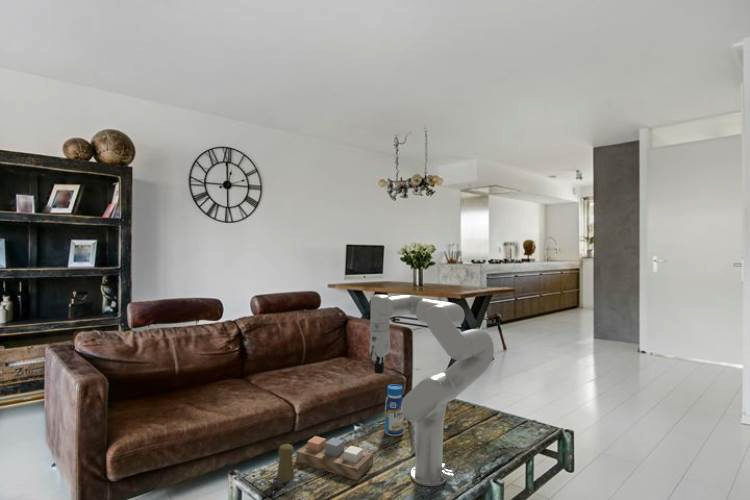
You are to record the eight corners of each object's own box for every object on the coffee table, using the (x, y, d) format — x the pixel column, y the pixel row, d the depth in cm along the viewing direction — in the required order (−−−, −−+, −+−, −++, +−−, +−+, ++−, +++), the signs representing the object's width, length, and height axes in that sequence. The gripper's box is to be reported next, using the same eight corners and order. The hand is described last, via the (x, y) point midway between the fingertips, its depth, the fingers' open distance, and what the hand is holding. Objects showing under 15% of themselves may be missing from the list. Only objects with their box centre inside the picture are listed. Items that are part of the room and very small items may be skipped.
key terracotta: (325, 451, 164) (326, 438, 164) (318, 457, 160) (318, 444, 160) (315, 448, 166) (315, 435, 166) (307, 453, 162) (307, 441, 162)
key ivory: (362, 461, 157) (362, 448, 157) (355, 468, 153) (356, 454, 152) (350, 458, 159) (350, 445, 159) (343, 464, 155) (344, 451, 155)
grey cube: (343, 453, 161) (344, 440, 160) (336, 459, 156) (337, 446, 156) (332, 450, 163) (332, 437, 163) (325, 455, 158) (325, 443, 158)
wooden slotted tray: (372, 464, 159) (373, 453, 159) (357, 480, 148) (357, 468, 148) (314, 448, 171) (314, 438, 171) (296, 461, 160) (296, 451, 160)
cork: (287, 470, 154) (287, 440, 154) (298, 476, 150) (298, 445, 150) (273, 477, 149) (273, 446, 149) (284, 483, 146) (284, 451, 145)
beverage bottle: (392, 426, 192) (392, 382, 191) (407, 431, 187) (408, 386, 186) (380, 432, 185) (381, 386, 185) (396, 438, 180) (397, 391, 179)
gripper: (380, 330, 160) (379, 379, 160) (396, 324, 173) (395, 369, 174) (362, 328, 163) (361, 376, 164) (379, 322, 177) (378, 366, 177)
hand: (379, 372), depth 169 cm, fingers closed
